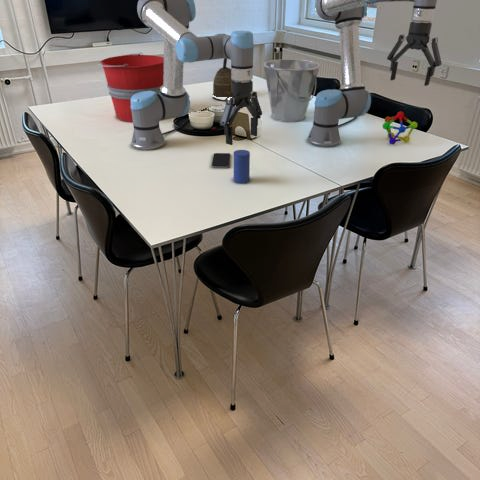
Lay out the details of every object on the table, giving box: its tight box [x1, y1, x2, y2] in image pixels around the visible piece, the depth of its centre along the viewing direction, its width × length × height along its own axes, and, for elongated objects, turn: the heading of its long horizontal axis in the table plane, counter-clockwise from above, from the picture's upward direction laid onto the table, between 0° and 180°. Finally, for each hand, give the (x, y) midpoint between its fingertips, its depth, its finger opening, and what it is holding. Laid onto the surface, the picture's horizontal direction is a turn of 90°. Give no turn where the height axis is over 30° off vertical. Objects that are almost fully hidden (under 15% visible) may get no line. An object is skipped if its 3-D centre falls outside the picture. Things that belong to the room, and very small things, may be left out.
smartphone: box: [211, 152, 231, 169], centre depth 190 cm, size 7×1×15 cm
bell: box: [212, 58, 233, 97], centre depth 278 cm, size 19×26×20 cm
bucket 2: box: [263, 58, 321, 123], centre depth 238 cm, size 30×30×28 cm
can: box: [233, 149, 251, 185], centre depth 170 cm, size 6×6×12 cm
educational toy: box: [382, 110, 418, 145], centre depth 207 cm, size 16×13×15 cm
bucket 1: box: [97, 52, 164, 123], centre depth 239 cm, size 35×35×30 cm
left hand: (241, 139), depth 165 cm, fingers open, 13 cm apart
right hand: (409, 82), depth 171 cm, fingers open, 13 cm apart
